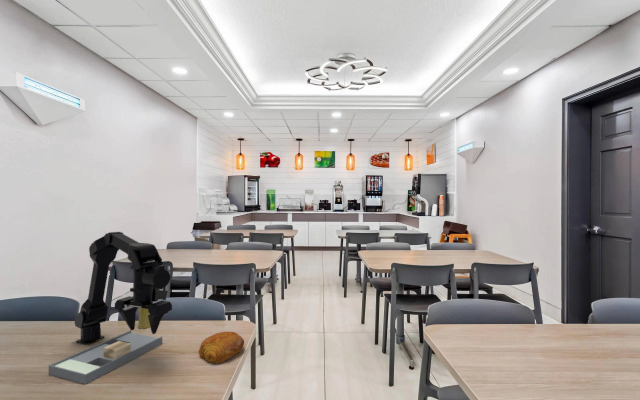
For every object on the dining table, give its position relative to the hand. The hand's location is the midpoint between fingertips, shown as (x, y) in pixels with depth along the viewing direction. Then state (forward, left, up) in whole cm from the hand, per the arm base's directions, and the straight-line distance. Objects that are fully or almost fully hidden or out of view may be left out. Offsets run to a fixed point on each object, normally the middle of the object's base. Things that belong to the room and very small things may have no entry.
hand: (143, 331), depth 106 cm
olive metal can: (-27, +25, -11) cm, 38 cm away
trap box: (-15, 0, -11) cm, 18 cm away
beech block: (-11, -1, -9) cm, 14 cm away
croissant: (+18, +16, -11) cm, 27 cm away
